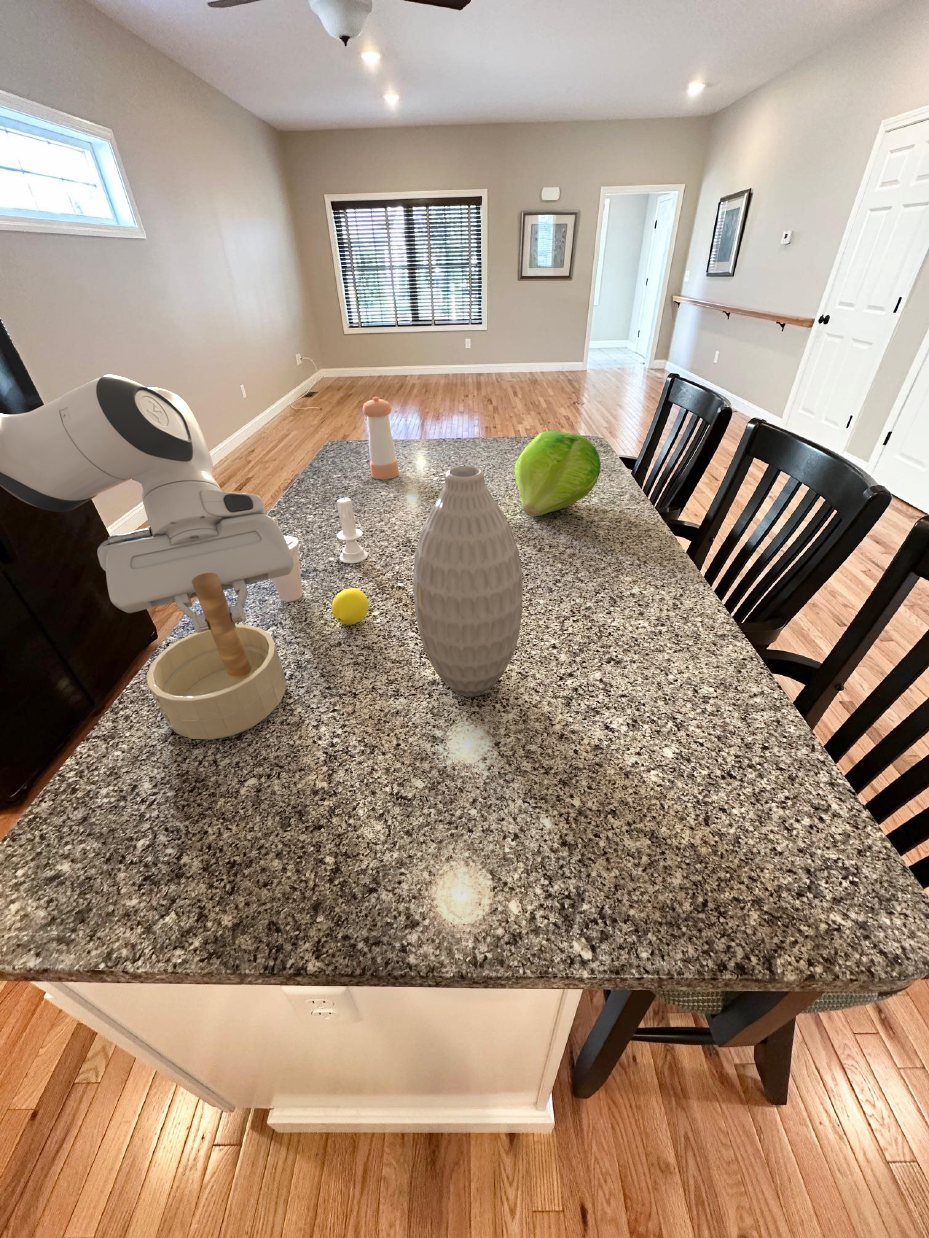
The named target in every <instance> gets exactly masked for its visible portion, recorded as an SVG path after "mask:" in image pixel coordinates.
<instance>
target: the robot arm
mask: <svg viewBox="0 0 929 1238" xmlns="http://www.w3.org/2000/svg"><path fill="white" fill-rule="evenodd" d="M213 463H214V462H213V459H212V456H211V453H210V450H209V448H208V444H207V441H206V439H205V436H204V434H203V431H202V429H201V426H200V425H199V422H198V421H197V419H196V416H195V415H194V413H193V411H192V410H191V407H190V406H189V405H188V404H187V402H186V401H185V400H184V399H183V398H182V397H180V396H179V395H178V394H176V393H174V392H172V391H170V390H167V389H164V388H160V387H151V386H150V387H147V386H145V385H143V384H141V383H140V382H139V383H138V382H136V381H134V380H132V379H129V378H127V377H123V376H119V375H115V374H106V375H103V376H101V377H98V378H95V379H93V380H91V381H88V382H86V383H84V384H81V385H80V386H78V387H75V388H73V389H72V390H69V391H67V392H66V393H64V394H63V395H61V396H60V397H57V398H55V399H53V400H51V401H50V402H47V403H45V404H43V405H41V406H39V407H37V408H35V409H33V410H30V411H28V412H23V413H16V414H4V413H0V487H1V488H3V490H5V491H7V493H9V494H11V495H12V496H13V497H15V498H16V499H18V500H19V501H21V502H24V503H26V504H27V505H30V506H33V507H35V508H39V509H41V510H46V511H49V512H56V513H65V512H70V511H73V510H75V509H77V508H79V507H80V506H82V505H84V504H86V503H87V502H89V501H90V500H93V499H94V498H95V497H97V496H98V495H100V494H102V493H104V492H106V491H108V490H110V489H112V488H115V487H116V486H117V487H118V486H119V485H121V484H124V483H126V482H128V481H130V480H132V481H135V482H137V483H139V484H141V487H142V495H141V497H142V498H141V500H142V504H143V509H144V510H145V511H144V512H145V514H146V518H147V521H148V525H149V527H148V528H142V529H137V530H133V531H130V532H126V533H116V534H112V535H110V536H108V537H107V539H106V540H104V541H102V542H101V543H100V544H99V546H98V547H97V557H98V561H99V565H100V567H101V568H102V570H103V571H105V577H106V585H107V590H108V591H107V592H108V597H109V600H110V602H111V604H112V605H113V606H114V607H115V608H117V609H119V610H120V611H122V612H125V613H127V614H132V613H137V612H141V611H144V610H149V609H152V608H157V607H162V606H165V605H169V604H173V603H175V605H176V607H177V608H178V609H179V610H180V611H181V612H182V613H183V614H185V615H186V616H187V617H188V618H189V619H190V620H191V622H192V626H193V629H194V631H195V632H197V633H201V632H204V631H208V630H210V628H209V626H208V623H207V620H206V618H205V615H204V613H200V614H197V613H195V612H194V611H193V610H192V609H191V608H192V607H193V602H192V599H193V598H198V597H197V595H196V592H195V590H194V587H193V585H192V580H193V578H195V577H196V576H198V575H201V574H204V573H215V574H217V575H218V577H219V580H220V583H221V586H222V589H223V591H227V590H231V589H233V590H234V593H235V595H236V596H237V598H236V602H235V605H232V606H229V609H230V613H231V614H232V615H231V617H232V620H233V622H234V623H235V624H237V623H242V622H245V621H247V616H246V613H245V610H244V608H245V605H246V601H247V598H248V595H249V591H248V587H247V585H251V584H254V583H259V582H263V581H268V580H272V578H276V577H280V576H284V575H288V574H290V572H291V570H292V568H293V558H292V555H291V552H290V549H289V547H288V545H287V542H286V540H285V538H284V536H285V535H284V534H283V532H282V530H281V528H280V526H278V525H279V524H278V525H277V523H276V522H275V521H274V520H273V517H271V516H270V515H268V514H267V510H266V509H267V508H266V507H265V504H264V501H263V499H262V497H261V496H260V495H258V494H254V493H244V492H232V491H223V490H222V488H221V487H220V485H219V484H218V482H217V481H216V479H215V477H214V472H213V471H214V464H213Z"/></svg>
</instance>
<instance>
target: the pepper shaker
mask: <svg viewBox="0 0 929 1238" xmlns="http://www.w3.org/2000/svg"><path fill="white" fill-rule="evenodd" d="M362 412H363V414H364V415H365V416H366V421H367V429H368V452H369V458H370V461H369V469H370V476H371V478H372V479H375V480H389V479H393V478H396V477H398V476H399V474H400V471H399V461H398V459H397V457H396V446H395V442H394V438H393V434H392V429H391V420H390V414H391V413H392V405H391V404H390V403H389V401H387V400H385V399H380V397H379V396H373V397H372V399H370V400H367V401H366V402H365V403H363V405H362Z"/></svg>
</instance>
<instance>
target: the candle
mask: <svg viewBox="0 0 929 1238" xmlns="http://www.w3.org/2000/svg"><path fill="white" fill-rule="evenodd" d="M336 507H337V515H338V517H339V521H340V526H341V531H338V533H337V534H336V537H337V538H338V539H339V540H341V541H345V545H344V548H343V549H342V550H341V551H342V552H341V554H340V556H339V561H340V562H342V563H345V564H358V563H362V562H364V561H365V560H366V559H367V558H368V556H369V554H368V552H367V551H366V550H364V548H363V546H362V545H360V544H359V543H358V541H357V540H358V539H359V538H361V537H362V536H363V535H364V534H363V533H364V532H363V531H362V530H361V529H358V528H357V524H356V519H355V513H354V506H353V501H352V499H351V498H350V497H343V498H342V497H341V498H339V499H338V500H336Z"/></svg>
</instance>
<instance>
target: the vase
mask: <svg viewBox="0 0 929 1238" xmlns="http://www.w3.org/2000/svg"><path fill="white" fill-rule="evenodd" d="M444 474H445V475H444V484H443V488H442V490H441V492H440V494H439V496H438V498H437V499H436V501H435V503H434V504H433V506H432V508H431V510H430V512H429V514H428V515H427V517H426V519H425V522H424V524H423V526H422V529H421V531H420V534H419V538H418V542H417V546H416V551H415V556H414V560H413V561H414V562H413V563H414V564H413V574H412V583H413V601H414V602H413V603H414V610H415V619H416V623H417V628H418V629H417V630H418V633H419V636H420V640H421V643H422V646H423V650H424V652H425V654H426V656H427V659H428V661H429V663H430V664H431V666H432V669H434V671H435V672H436V674H437V676H438V677H439V678H440V679H441V680H442V681H443V683H444V684H445V685H446V686H447V687H448V688H449V689H450V690H452V692H454V693H456V694H457V695H460V696H463V697H478V696H481V695H484V694H486V693H488V692H489V691H490V690H491V689H492V688H493V687H494V686H495V685H496V684H497V682H498V681H499V680H500V679H501V677H502V676H503V675H504V673H505V671H506V670H507V668H508V666H509V664H510V662H511V660H512V658H513V655H514V653H515V650H516V647H517V644H518V640H519V635H520V631H521V625H522V616H523V600H524V590H523V589H524V586H523V585H524V584H523V582H524V581H523V568H522V562H521V561H522V560H521V557H520V552H519V548H518V545H517V541H516V538H515V536H514V532H513V529H512V527H511V525H510V523H509V521H508V519H507V517H506V516H505V514H504V513H503V511H502V509H501V508H500V505H498V503H497V501H496V500H495V498H494V497H493V495H492V494H491V491H490V490H489V489H488V487H487V485H486V481H485V474H484V471H483V470H482V469H481V468H479V467H477V466H474V465H473V466H472V465H460V466H453V467H451V468H449V469H448V470H447V471H446V472H445V473H444Z"/></svg>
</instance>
